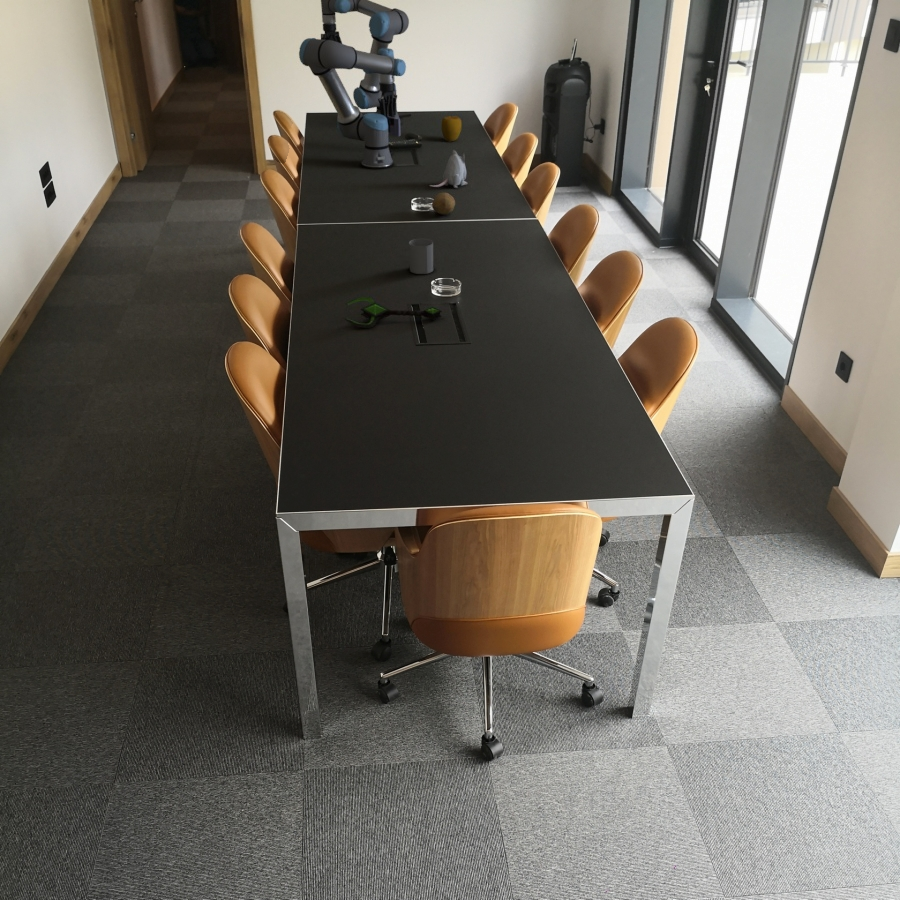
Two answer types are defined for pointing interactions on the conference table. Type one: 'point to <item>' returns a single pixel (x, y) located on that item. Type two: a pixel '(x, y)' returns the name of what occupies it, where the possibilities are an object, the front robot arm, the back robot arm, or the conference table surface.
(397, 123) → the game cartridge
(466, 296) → the conference table surface
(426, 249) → the cup
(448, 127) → the apple
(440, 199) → the potato
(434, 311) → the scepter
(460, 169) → the toy
